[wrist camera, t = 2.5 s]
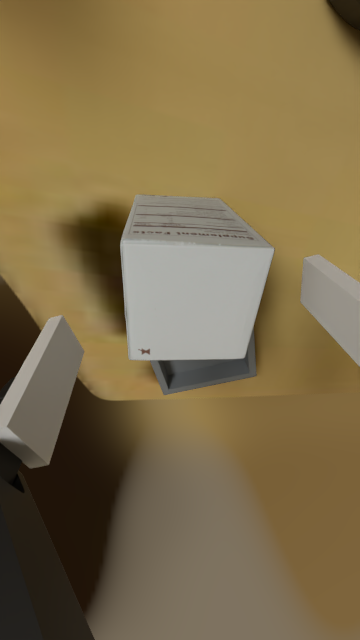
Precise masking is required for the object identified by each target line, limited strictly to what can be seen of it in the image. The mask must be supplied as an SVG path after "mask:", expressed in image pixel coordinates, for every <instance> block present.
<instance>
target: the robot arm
mask: <svg viewBox="0 0 360 640" xmlns="http://www.w3.org/2000/svg"><path fill="white" fill-rule="evenodd" d="M329 1H330V2H331V4H332V5H333V7H334V8H335V10H336V11H337V12H338V13H339V14H340V15H341V17H342V18H343V19H344V20H346V21H347V22H348V23H349V24H350V25H352V26H353V27H355V28H356V29H358V30H360V0H329ZM300 302H301V303H302V304H303V305H304V306H305V308H306V309H307V310H308V311H309V312H310V313H311V314H312V315H313V316H314V317H315V318H316V320H317V321H318V322H319V323H320V324H321V325H322V326H323V327H324V328H325V329H326V331H327V332H328V333H329V334H330V335H331V336H332V337H333V338H334V339H335V340H336V341H337V343H338V344H339V345H340V346H341V347H342V348H343V349H344V350H345V351H346V352H347V353H348V355H349V356H350V357H351V358H352V359H353V360H354V361H355V362H356V363H357V364H358V366H359V367H360V283H359V282H358V281H356V280H355V279H353V278H352V277H350V276H349V275H348V274H346V273H345V272H343V271H342V270H340V269H339V268H337V267H336V266H335V265H333V264H332V263H330V262H329V261H327V260H326V259H324V258H323V257H322V256H320V255H319V254H318V255H314V256H310V257H305V258H304V260H303V274H302V287H301V301H300ZM83 354H84V350H83V348H82V347H81V345H80V343H79V342H78V340H77V338H76V337H75V335H74V333H73V332H72V330H71V328H70V327H69V325H68V323H67V322H66V320H65V318H64V316H63V315H61V316H56V317H52V318H49V319H48V321H47V323H46V325H45V327H44V328H43V330H42V332H41V334H40V336H39V337H38V339H37V341H36V342H35V344H34V346H33V348H32V349H31V351H30V353H29V355H28V357H27V358H26V360H25V362H24V364H23V366H22V367H21V369H20V371H19V372H18V374H17V376H16V377H15V378H12V379H11V380H10V381H9V382H8V383H7V384H6V385H5V386H4V387H3V388H2V390H1V391H0V640H95V639H94V637H93V635H92V633H91V631H90V628H89V626H88V624H87V621H86V619H85V617H84V614H83V612H82V610H81V607H80V605H79V603H78V600H77V598H76V596H75V594H74V591H73V589H72V587H71V584H70V582H69V580H68V578H67V575H66V573H65V571H64V568H63V566H62V564H61V562H60V560H59V557H58V555H57V552H56V550H55V548H54V545H53V543H52V541H51V539H50V536H49V534H48V532H47V529H46V527H45V525H44V523H43V520H42V518H41V516H40V513H39V511H38V509H37V507H36V504H35V502H34V500H33V497H32V495H31V493H30V491H29V488H28V486H27V484H26V482H25V479H24V477H23V475H22V474H21V473H20V472H19V471H18V470H19V468H20V465H21V463H22V462H23V463H24V464H26V465H27V466H28V467H29V468H35V467H40V466H45V465H48V464H49V462H50V459H51V456H52V453H53V450H54V446H55V443H56V440H57V437H58V434H59V430H60V427H61V424H62V421H63V418H64V415H65V411H66V408H67V405H68V402H69V399H70V395H71V392H72V389H73V386H74V382H75V379H76V376H77V373H78V370H79V367H80V363H81V360H82V357H83Z"/></svg>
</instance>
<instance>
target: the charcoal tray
mask: <svg viewBox="0 0 360 640" xmlns="http://www.w3.org/2000/svg"><path fill="white" fill-rule="evenodd" d="M150 362H151V364H152V367H153V369H154V372H155V374H156V377H157V379H158V382H159V384H160V387H161V389H162V392H163V394H164V395H167V394H172V393H177V392H182V391H187V390H191V389H196V388H201V387H206V386H211V385H216V384H221V383H225V382H230V381H235V380H240V379H245V378H250V377H255V376H256V359H255V341H254V327H253V330H252V334H251V337H250V341H249V344H248V348H247V352H246V355H245V357H244V358H241V359H206V360H150Z"/></svg>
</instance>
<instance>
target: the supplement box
mask: <svg viewBox="0 0 360 640" xmlns="http://www.w3.org/2000/svg"><path fill="white" fill-rule="evenodd" d="M120 247H121V261H122V274H123V287H124V301H125V317H126V327H127V341H128V357H129V359H130V360H206V359H241V358H244V357H245V355H246V352H247V348H248V344H249V341H250V337H251V334H252V330H253V327H254V323H255V319H256V316H257V312H258V308H259V305H260V301H261V298H262V294H263V290H264V287H265V283H266V279H267V276H268V272H269V269H270V265H271V261H272V258H273V254H274V251H275V248H274V247H272V246H271V245H270V244H269V243H268V242H267V241H266V240H265V239H264V238H262V237H261V236H260V235H259V234H258V233H257V232H256V231H255V230H254V229H253V228H252V227H250V226H249V225H248V224H247V223H246V222H245V221H244V220H243V219H241V218H240V217H239V216H238V215H237V214H236V213H235V212H234V211H233V210H232V209H231V208H230V207H228V206H227V205H226V204H225V203H224V202H223V201H222V200H221V199H219V198H199V197H179V196H159V195H136V196H135V200H134V203H133V206H132V209H131V212H130V215H129V218H128V220H127V223H126V226H125V229H124V232H123V235H122V239H121V244H120Z"/></svg>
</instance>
